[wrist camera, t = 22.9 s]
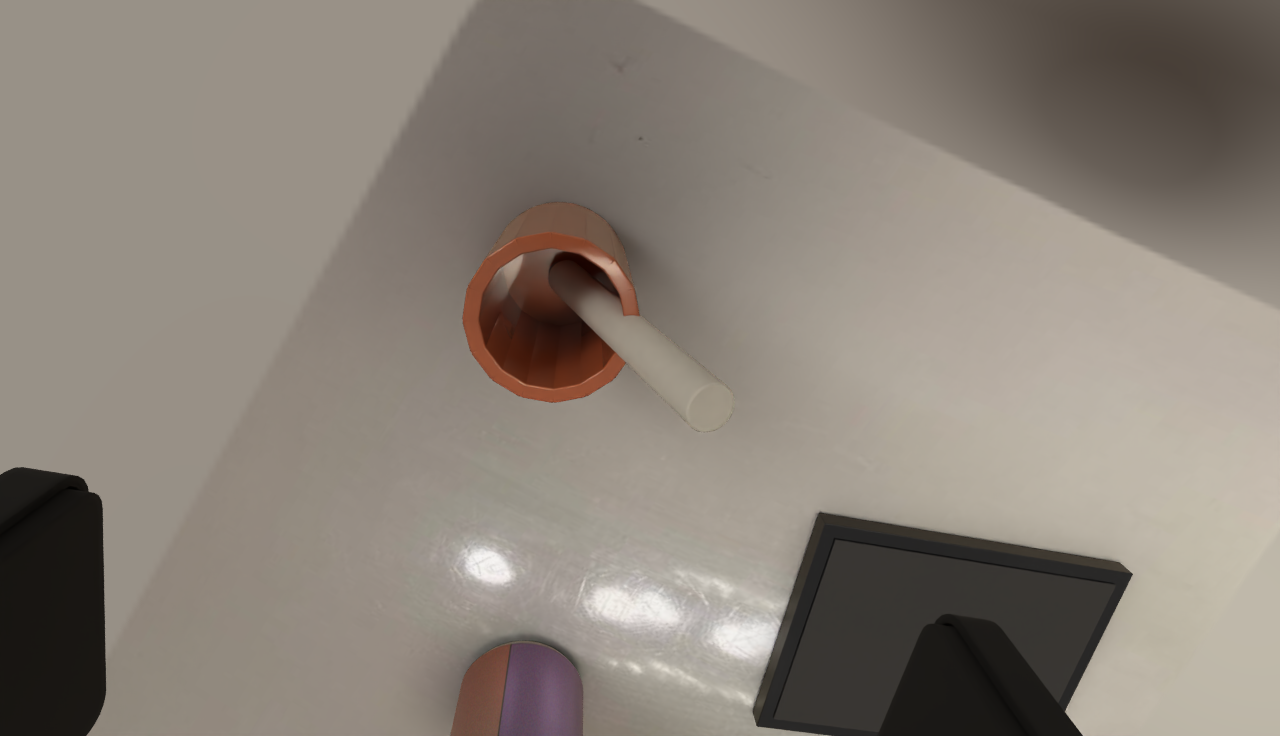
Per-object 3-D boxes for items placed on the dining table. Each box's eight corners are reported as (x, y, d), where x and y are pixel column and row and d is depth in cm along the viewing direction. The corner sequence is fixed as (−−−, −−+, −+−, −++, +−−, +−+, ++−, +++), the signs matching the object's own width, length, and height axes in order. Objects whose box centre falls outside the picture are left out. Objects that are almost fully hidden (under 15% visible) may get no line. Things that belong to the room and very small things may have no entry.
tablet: (818, 512, 35) (825, 524, 34) (1119, 562, 37) (1134, 575, 36) (752, 711, 39) (756, 728, 38) (1029, 746, 41) (1041, 763, 40)
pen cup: (505, 188, 29) (477, 216, 22) (638, 217, 30) (656, 253, 23) (484, 318, 31) (452, 385, 24) (611, 342, 32) (619, 415, 24)
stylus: (545, 252, 29) (694, 381, 18) (578, 257, 30) (741, 385, 19) (539, 286, 30) (680, 432, 19) (571, 290, 30) (727, 434, 19)
